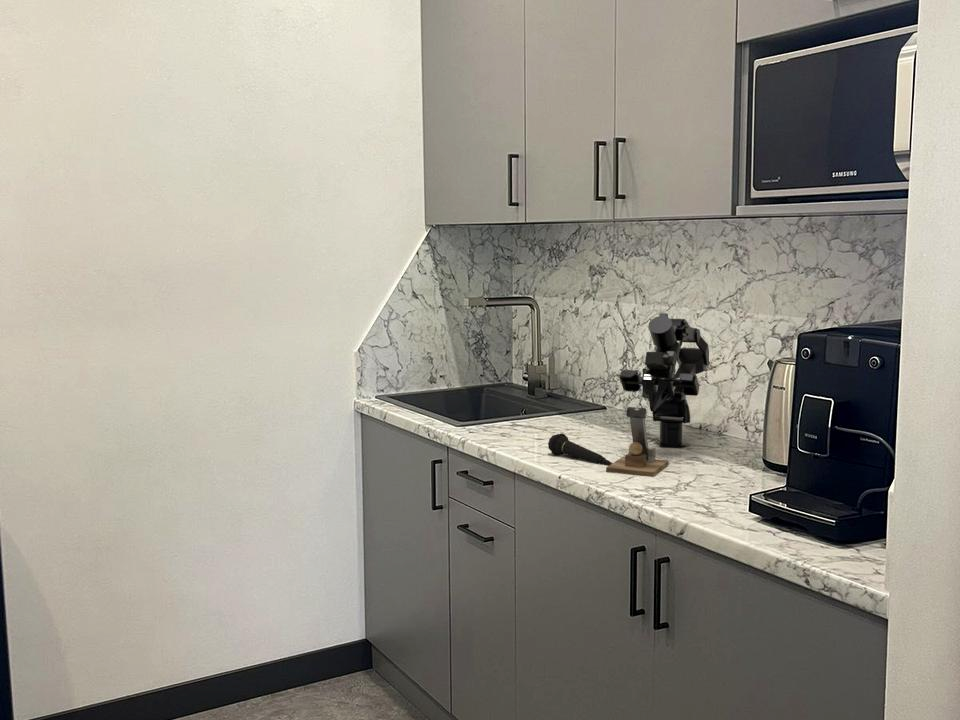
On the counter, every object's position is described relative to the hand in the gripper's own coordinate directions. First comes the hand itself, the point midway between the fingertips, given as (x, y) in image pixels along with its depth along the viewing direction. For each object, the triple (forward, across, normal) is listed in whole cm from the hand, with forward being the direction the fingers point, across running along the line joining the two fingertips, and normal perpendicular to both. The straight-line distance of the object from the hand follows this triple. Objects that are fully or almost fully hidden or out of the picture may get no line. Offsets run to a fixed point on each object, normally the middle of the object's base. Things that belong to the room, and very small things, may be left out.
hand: (652, 410), depth 233 cm
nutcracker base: (+16, 0, 0) cm, 16 cm away
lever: (+12, 0, +2) cm, 12 cm away
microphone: (+15, -16, +3) cm, 22 cm away
